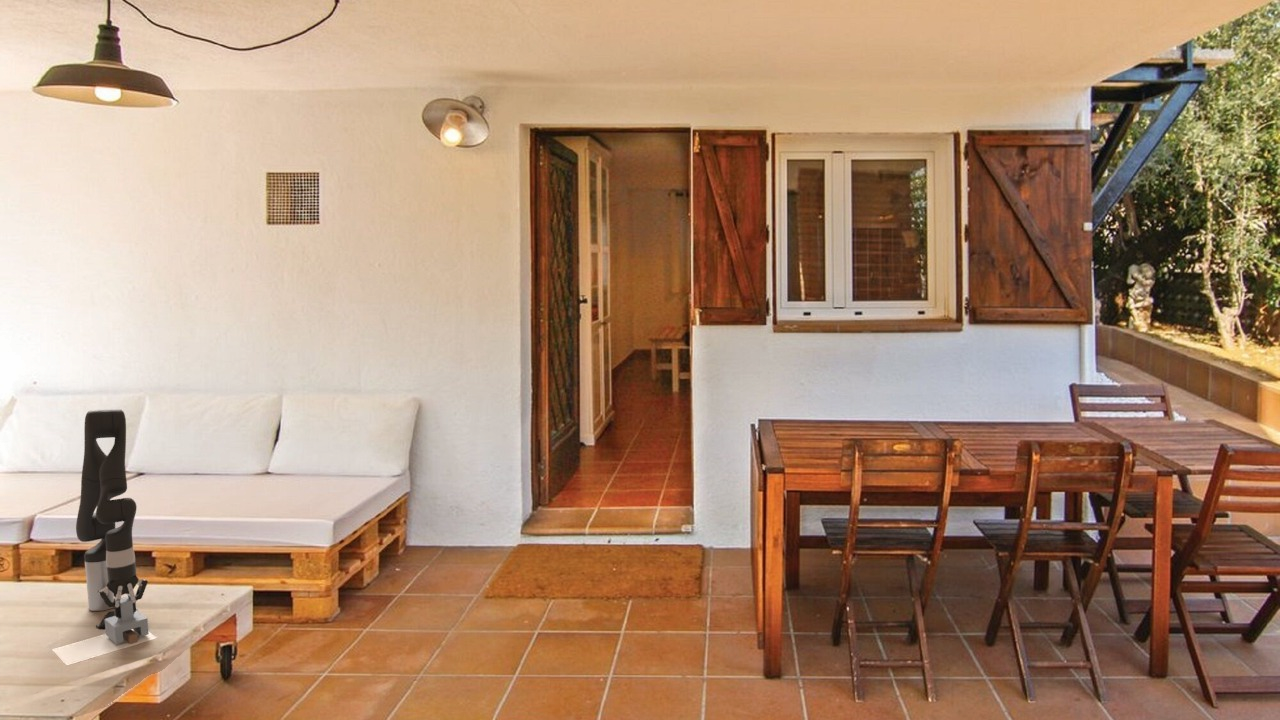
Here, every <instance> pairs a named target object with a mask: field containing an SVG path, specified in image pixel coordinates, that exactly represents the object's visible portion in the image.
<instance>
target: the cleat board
mask: <svg viewBox="0 0 1280 720" xmlns="http://www.w3.org/2000/svg"><path fill="white" fill-rule="evenodd" d="M148 632H149V634H148V635H144V636H141V635H139V634H138V633H137V632H136V631H135V630H133V629H130V630H127V631H124V632H123V642H121V643H118V644H116V643H114V642H113V641H112V640H111V639H110V638H109V637H108V636H107V635H106V633H104V634H101V635H97V636H94V637H93V636H92V637H90V638H87V639H84V640H80V641H77V642H73V643H68V644H66V645H63V646H59V647H55V648H52V649H51V650H52V651H53V652H54V653H55V655H56V656H57V657H58V658H59V659H60V660H61V662H63V664H65V666H71V665H73V664H77V663H81V662H83V661H87V660H90V659H92V658H96V657H99V656H104V655H106V654H110V653H113V652H116V651H120V650H123V649H126V648H129V647H133V646H136V645H140V644H143V643H146V642H150V641H153V640H156V639H157V636H155V635H154V634H153V633H152V632H150V631H149V630H148Z"/></svg>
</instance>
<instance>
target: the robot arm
mask: <svg viewBox="0 0 1280 720" xmlns="http://www.w3.org/2000/svg"><path fill="white" fill-rule="evenodd" d="M126 420H127V419H126V413H125V411H123V410H122V409H119V408H111V409H110V408H109V409H107V408H105V409H92V410H89V411H87V412H86V414H85V417H84V429H83V430H84V433H83V435H84V450H83V451H84V453H83V462H82V472H81V478H80V479H81V480H80V482H81V484H80V500H79V501H80V502H79V506H78V511H77V512H78V513H77V517H76V522H75V523H76V524H75V531H76V537H77V539H78V540H79V541H80V542H83V543H87V542H93V541H97V540H100V541H99V542H98V543H97V544H96V545H94V546H92V547H91V548H89V549H87V550H86V551H85V552H84V554H83V559H84V569H85V570H84V571H85V578H86V579H85V580H86V591H87V601H88V610H89V611H92V612H99V611H101V612H102V611H105V610H106V611H107V610H110V609H113V611H114V615H115V616H116V617H117V618H118V619H119V618H121V608H120V600H121V598H122V596H123V595H127V597H128V598H130V599H131V600H132V602H133V614H134V612H136V609H137V604H136V602H137V601H138V600H142V599H143V595H144V594H145V593H144V592H145V590H146V588H147V585H148V580H147V579H145V578H138V576H137V570H136V569H137V568H136V555H135V550H134V542H133V527H134V521H135V517H136V513H137V509H138V508H137V503H136V501H135V500H134V498H132V497H122V498H116V499H113V498H115V497H119V496H121V495H123V494H125V493H126V492H127V490H128V484H127V483H128V482H127V471H126V451H127V449H126V448H127V447H126V445H127V421H126ZM106 438H107V439H108V438H114V443H113V446H112V447H111V449H110V451H109V453H108V454H106V453H105V452H104V451H103V450H102V448H101V447H100V445H99V444H98V441H97V440H98V439H106ZM119 522H123V523H122V524H121V525H120V526H118V527H116V523H119ZM137 586H138V588H137V590H136V593H135V592H134V589H135V587H137Z"/></svg>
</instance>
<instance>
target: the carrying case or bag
mask: <svg viewBox="0 0 1280 720" xmlns="http://www.w3.org/2000/svg"><path fill="white" fill-rule="evenodd" d="M136 610H137V611H139V609H137V608H136ZM113 616H115V615H114V610H110V611H108V612H107V613H106V614H104V616H103V618H102V620H101V621H100V623H99V625H98V624H96V625H95V628H96V629H98V630H105V619H106V618H109V617H113Z"/></svg>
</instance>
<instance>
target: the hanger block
mask: <svg viewBox="0 0 1280 720" xmlns="http://www.w3.org/2000/svg"><path fill="white" fill-rule="evenodd" d="M120 608H121V618H119V619H118V618H117V617H116V616H113V617H109V618H106V619H105V629H104V630H105V634H106V635H107V636H108V637H109V638H110V639H111V640H112V641H113V642H114V643H116V644H118V643H121V642H123V632H124V631H127V630H130V629H133V630H135V631H136V632H137V633H138V634H139V635H141V636H144V635H148V634H149V632H150V631H149V623H148V618H147V617H146V616H145V615H144V614H142V613H141V612H140V611H139V610H138V609H137V610H138V611H137V610H136V612H134V614H133V602H132V600H131V599H130V598H128V596H124V597H121V600H120ZM148 631H149V632H148Z"/></svg>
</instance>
